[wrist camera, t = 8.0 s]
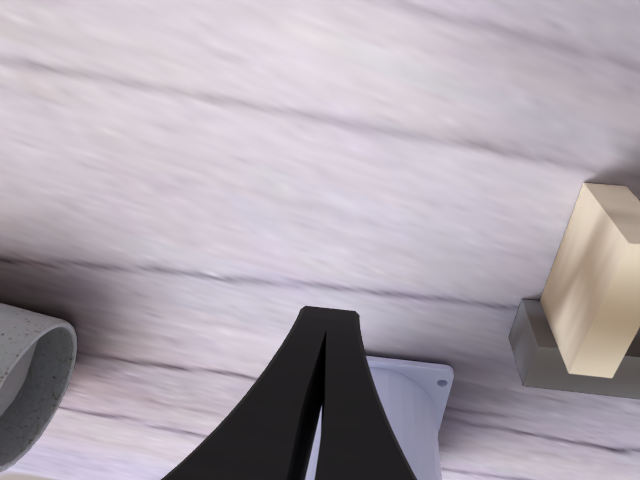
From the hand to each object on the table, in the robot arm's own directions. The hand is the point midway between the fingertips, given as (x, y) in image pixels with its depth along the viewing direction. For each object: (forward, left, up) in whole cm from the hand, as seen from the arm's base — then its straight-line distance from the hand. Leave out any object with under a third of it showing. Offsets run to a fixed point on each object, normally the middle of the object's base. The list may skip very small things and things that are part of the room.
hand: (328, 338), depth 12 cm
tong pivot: (-4, -11, -9) cm, 15 cm away
